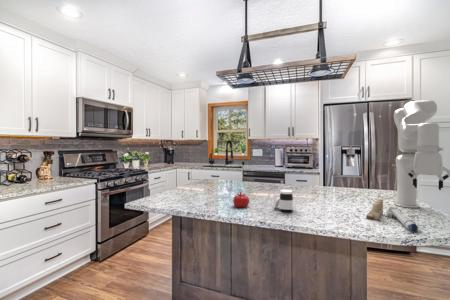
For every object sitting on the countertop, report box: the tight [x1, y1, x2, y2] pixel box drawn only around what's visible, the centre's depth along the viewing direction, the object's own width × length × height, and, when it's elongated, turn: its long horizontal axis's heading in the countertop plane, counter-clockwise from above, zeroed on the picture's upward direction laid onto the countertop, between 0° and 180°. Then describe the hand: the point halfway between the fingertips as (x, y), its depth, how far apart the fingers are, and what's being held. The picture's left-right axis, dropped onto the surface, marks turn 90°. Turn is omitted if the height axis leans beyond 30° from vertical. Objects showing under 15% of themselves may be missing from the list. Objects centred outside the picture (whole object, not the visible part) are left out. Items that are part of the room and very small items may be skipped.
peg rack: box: [365, 198, 384, 221], centre depth 128 cm, size 16×6×8 cm, turn 140°
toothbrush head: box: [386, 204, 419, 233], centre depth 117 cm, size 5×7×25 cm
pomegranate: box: [232, 191, 250, 208], centre depth 150 cm, size 10×10×9 cm
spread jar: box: [273, 189, 294, 213], centre depth 141 cm, size 12×11×12 cm
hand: (427, 188), depth 110 cm, fingers open, 7 cm apart
